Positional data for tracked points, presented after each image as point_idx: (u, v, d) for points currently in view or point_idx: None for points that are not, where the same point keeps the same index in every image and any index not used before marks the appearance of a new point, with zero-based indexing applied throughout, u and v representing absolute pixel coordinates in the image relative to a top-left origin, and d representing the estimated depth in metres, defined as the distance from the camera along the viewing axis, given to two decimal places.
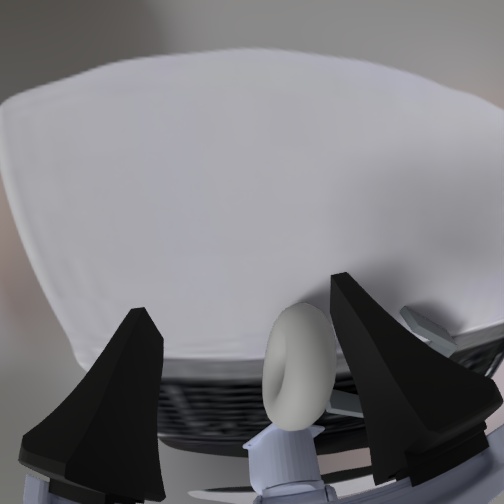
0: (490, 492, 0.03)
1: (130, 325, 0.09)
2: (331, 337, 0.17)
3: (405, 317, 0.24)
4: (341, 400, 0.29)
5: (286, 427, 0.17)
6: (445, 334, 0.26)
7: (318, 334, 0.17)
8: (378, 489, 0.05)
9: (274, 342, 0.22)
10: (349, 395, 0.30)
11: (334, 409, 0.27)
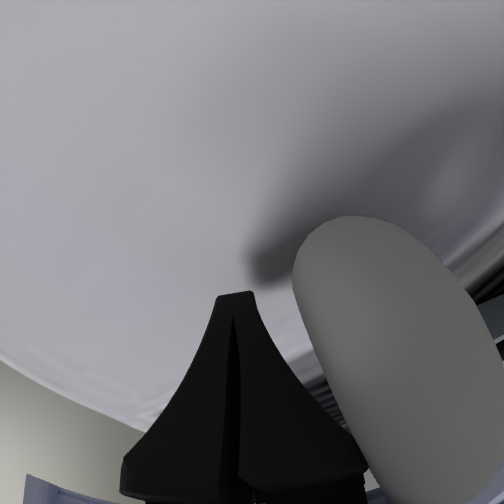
0: (490, 492, 0.03)
1: (227, 312, 0.09)
2: (455, 300, 0.04)
3: None
4: (493, 318, 0.14)
5: None
6: None
7: (408, 331, 0.04)
8: (378, 489, 0.05)
9: None
10: (500, 299, 0.14)
11: None
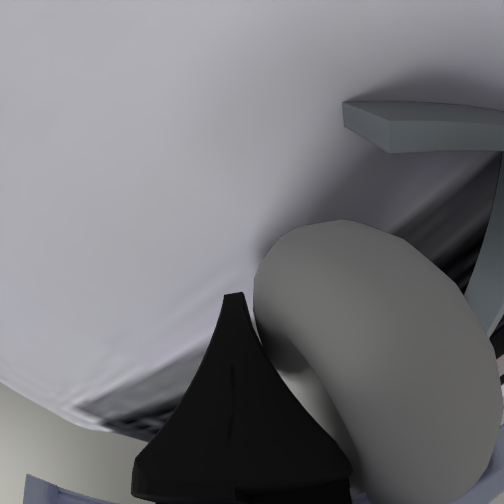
0: (490, 492, 0.03)
1: (236, 311, 0.09)
2: (448, 279, 0.04)
3: (357, 127, 0.07)
4: None
5: None
6: None
7: (420, 298, 0.04)
8: None
9: (277, 350, 0.09)
10: None
11: None
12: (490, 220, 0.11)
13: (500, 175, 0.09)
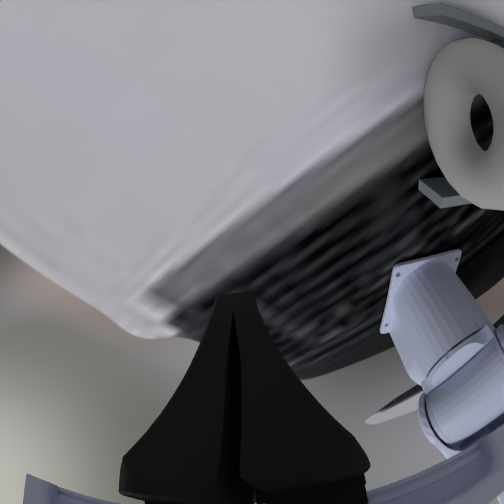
0: (490, 492, 0.03)
1: (226, 312, 0.09)
2: None
3: (423, 13, 0.10)
4: (450, 185, 0.17)
5: None
6: None
7: (494, 44, 0.07)
8: (378, 489, 0.05)
9: (439, 107, 0.13)
10: None
11: (447, 198, 0.16)
12: None
13: None
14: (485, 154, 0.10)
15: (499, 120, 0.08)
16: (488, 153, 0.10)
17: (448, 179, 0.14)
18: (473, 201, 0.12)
